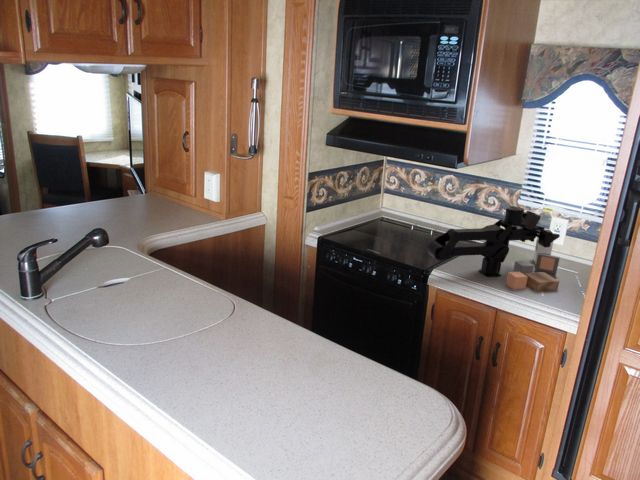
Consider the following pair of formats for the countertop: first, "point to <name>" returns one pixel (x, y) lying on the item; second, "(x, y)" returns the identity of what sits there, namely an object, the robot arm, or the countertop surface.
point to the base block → (541, 281)
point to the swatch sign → (547, 264)
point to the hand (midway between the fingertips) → (551, 232)
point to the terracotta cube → (516, 280)
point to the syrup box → (542, 249)
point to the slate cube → (523, 267)
